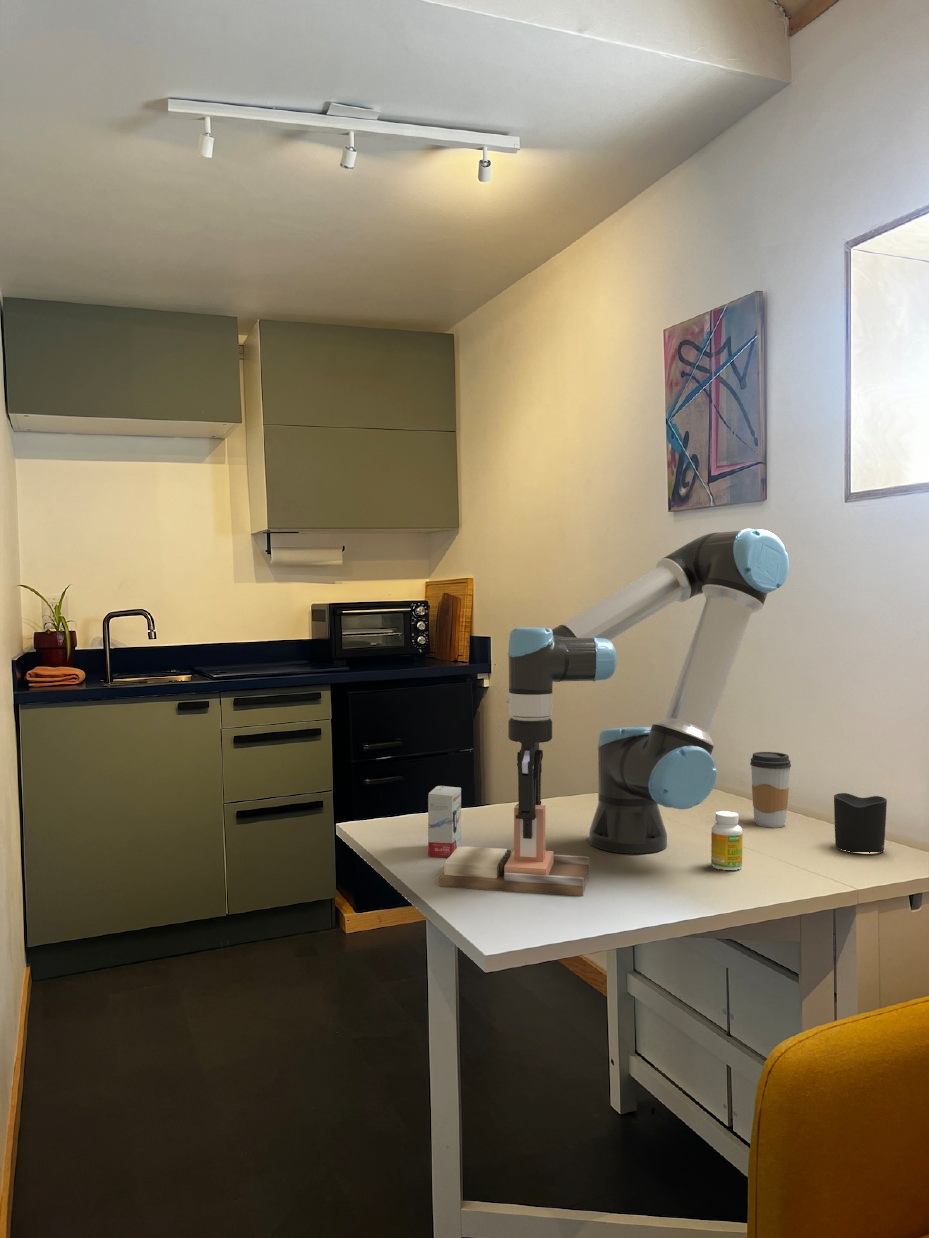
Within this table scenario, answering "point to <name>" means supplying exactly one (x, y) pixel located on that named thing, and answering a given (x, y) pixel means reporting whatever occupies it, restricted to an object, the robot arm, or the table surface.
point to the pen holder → (859, 823)
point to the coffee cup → (770, 788)
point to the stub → (543, 858)
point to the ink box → (444, 821)
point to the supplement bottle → (726, 842)
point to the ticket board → (488, 873)
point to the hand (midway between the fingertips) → (529, 852)
